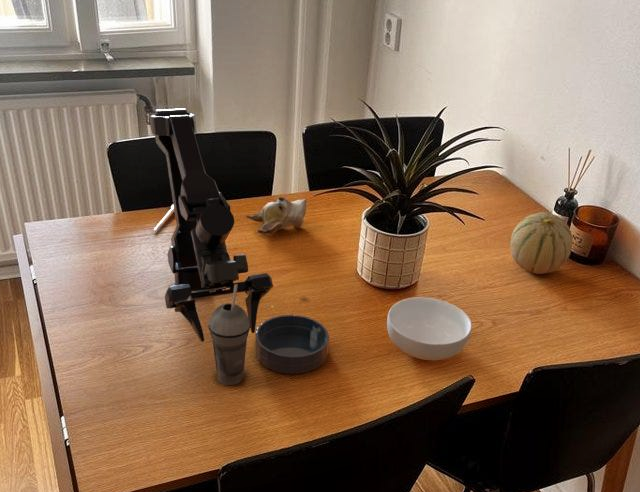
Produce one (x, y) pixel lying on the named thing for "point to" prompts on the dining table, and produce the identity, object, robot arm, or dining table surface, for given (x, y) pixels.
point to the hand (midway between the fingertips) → (228, 336)
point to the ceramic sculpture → (280, 215)
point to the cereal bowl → (428, 328)
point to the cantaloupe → (541, 243)
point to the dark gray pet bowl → (291, 344)
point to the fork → (164, 219)
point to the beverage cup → (229, 340)
